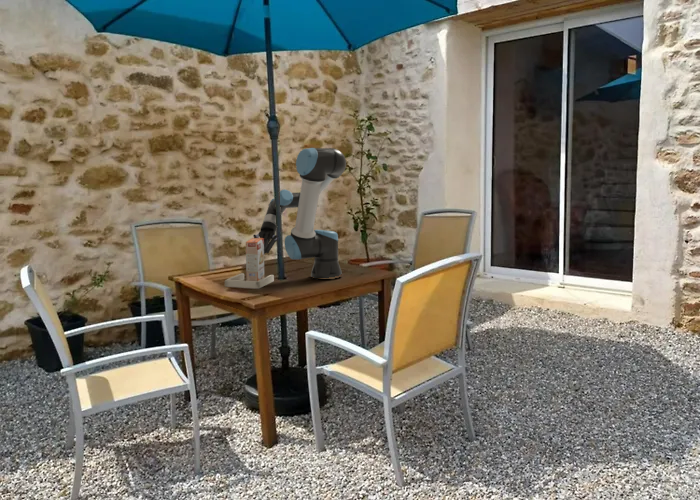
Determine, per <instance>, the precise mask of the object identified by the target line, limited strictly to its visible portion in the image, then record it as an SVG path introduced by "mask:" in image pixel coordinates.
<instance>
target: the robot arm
mask: <svg viewBox="0 0 700 500" xmlns="http://www.w3.org/2000/svg"><path fill="white" fill-rule="evenodd" d="M295 166H296V172H297V174H298V175H299V178H300V179H301V186H300V192H291V190H288V189H282V190H279V192H280V207H281V216H282V215H283V212H285V211H286V209H291V208H292V209H294V208H297V211H296V212H297V214H296V218H295V225H294V227H292V229H291V231H290V234H289V235H286V236H285V238H284V248H285V251H286V255H288V257H289V259H291V260H302V259H303V260H304V259H312V258H314V263H313V265H312V270H311V273H310V277H314V278H329V277H335V276H339V275H341V274H342V275H343V273H342V272H343V271H342V269H341V265H340V264H339V263H340V262H339V235H338V233H337V232H336V231H333V230H327V229H326V230H325V229H314V227H315V221H316V215H317V209H318V203H319V198H320V194H322V193H323V191H324V190H326V188H328V186H330V184H331V183H332V182H333V181H334V180H335V179H338V178H340V177H341V176H342V175H343V174H344V172H345V170H346V167H347V160H346V156H345V155H344V153H343V152H342V151H340V150H339V149H337V148H333V147H329V148H327V147H323V148H322V147H321V148H320V147H319V148H318V147H309V148H304V149H302V150H300V151H299V152H298V155H297V157H296V161H295ZM276 232H277V229H276V207H275V197H274V198H272V199H271V200H270V202H269V204H268V207H267V210H266V213H265V216H264V218H263V222H262V224H261V226H260V231H259V232H258V233H257V234H256V233H255V234H253V238H264V255H265V254H269V253H270V251H271V250H272V248H273V246H274V245H275V243H276V242H277V241H278V240H277V237H278V235H277V234H276Z"/></svg>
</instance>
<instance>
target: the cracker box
mask: <svg viewBox="0 0 700 500" xmlns="http://www.w3.org/2000/svg"><path fill="white" fill-rule="evenodd" d="M245 265H246V266H245V267H246V268H245V270H246V276H245V277H246V281H259V280H261V279H263V278H265V254H264V238H260V237H259V238H254V237H252V238H250V239H249V240H247V241H245Z"/></svg>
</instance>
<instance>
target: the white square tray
mask: <svg viewBox="0 0 700 500" xmlns="http://www.w3.org/2000/svg"><path fill="white" fill-rule="evenodd" d="M274 281H275V276H274V274H269V275H267V276H264V278H263V279H261V280H259V281H247V280H245V273H243V272H242V273H238V274H236V275H234V276H231V277H229V278H227V279H225V280H224V287H226V288H240V289H241V288H243V289H257V290H258V289H262V288H263V287H264V286H267V285H269V284H271V283H273V282H274Z"/></svg>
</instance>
